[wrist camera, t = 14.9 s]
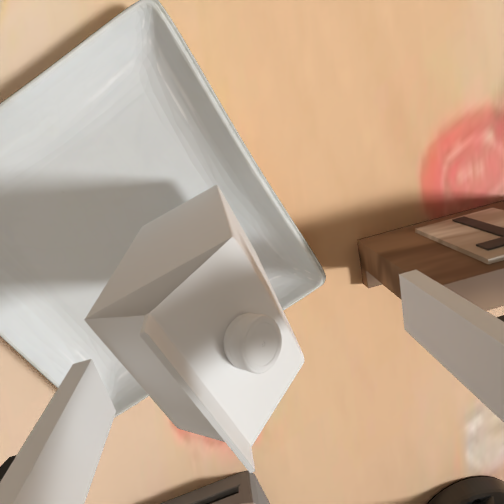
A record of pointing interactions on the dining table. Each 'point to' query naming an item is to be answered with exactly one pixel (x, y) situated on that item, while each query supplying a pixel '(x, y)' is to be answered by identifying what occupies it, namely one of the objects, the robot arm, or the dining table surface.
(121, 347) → the milk carton
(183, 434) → the dining table surface
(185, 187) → the square plate
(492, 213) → the sign board
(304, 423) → the dining table surface
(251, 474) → the instant camera
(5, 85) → the dining table surface
